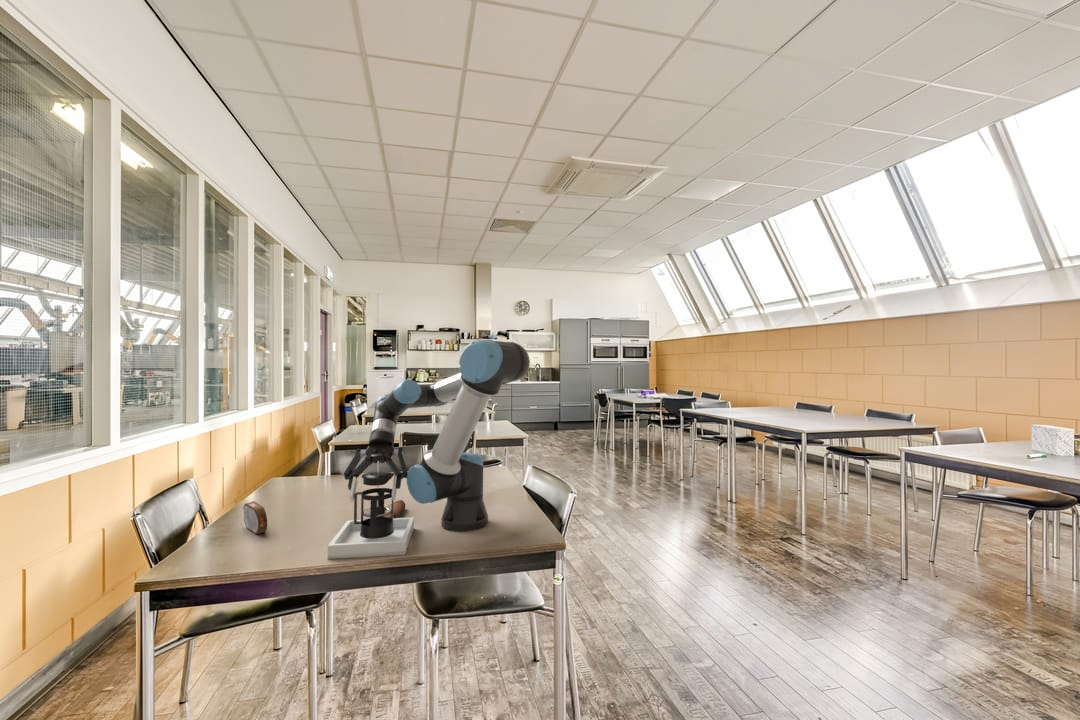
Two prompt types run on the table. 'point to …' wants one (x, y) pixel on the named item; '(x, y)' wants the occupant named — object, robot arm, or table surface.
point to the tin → (255, 517)
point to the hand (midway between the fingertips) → (372, 498)
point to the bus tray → (371, 541)
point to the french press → (375, 505)
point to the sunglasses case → (397, 509)
